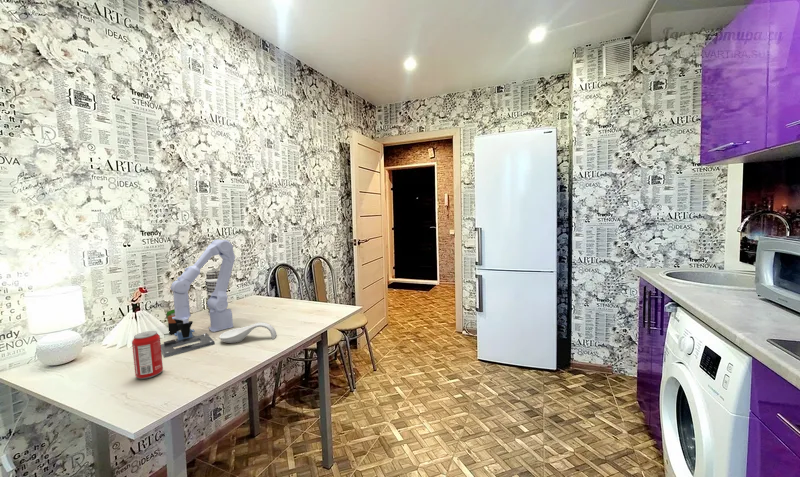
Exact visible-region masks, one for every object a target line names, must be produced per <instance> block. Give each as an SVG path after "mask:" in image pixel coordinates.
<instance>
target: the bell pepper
mask: <svg viewBox="0 0 800 477" xmlns="http://www.w3.org/2000/svg"><path fill="white" fill-rule="evenodd" d="M172 313H175V309H174V308H173V309H171V310H169V311H166V319H167V320H168V316H169V315H171V314H172Z"/></svg>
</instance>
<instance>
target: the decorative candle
mask: <svg viewBox="0 0 800 477" xmlns="http://www.w3.org/2000/svg"><path fill="white" fill-rule="evenodd" d="M219 271H220V269H210V270H208V271H207V272H206V273H205V275H206V279H205V281H204V282H205V284H204V285H205V286H206V287H205V291H206V295H207V300H208V299H209V298H210V297H211V294H212V293H213V292H214V290H215V287H216V283H217V279H218V275H219ZM207 310H208V315H209V316H210V308H209V307H208V308H207Z"/></svg>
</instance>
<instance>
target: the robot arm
mask: <svg viewBox="0 0 800 477" xmlns="http://www.w3.org/2000/svg"><path fill="white" fill-rule="evenodd" d="M233 248H234V245H233V244H232V243H231V242H230V241H229V240H227V239H219V238H218V239H214V240H212V242H211V243H210V244H208V246H207V247H206V248H205V250H204V251H203V253H201V255H200V256H199V257H198V259H197V260H196V262H194V264H193V265H188V267H185V268H184V269H183V270H184V271H183V272H182V273H181V274H180V276H178V277H177V278H176V279H177V280H174V281H173V282H172V283H171V286H170V288H169V289H170V290H171V291H172V293H173V307H174V308H173V309H175V317H172V319H174V320H175V322H176V323H177V326H178V329H179V330H181V332H182V336H183V338H186V337H189V333H190V329H192V328H191V327H192V325H193V321H192V320H190V317H191V311H190V310H191V309H190V297H189V290H190V289H191V285H192V284H193V282H194V281H195V280H196V279H197V278H198V277H199V275H200V274H201V269H202V268H203V266H205V265H206V263H208V261H209V260H210V259H211V258H212V257H214V256H219V257H220V258H221V259H222V260H221V264H220V268H219V270H220V271H219V275H218V279H217V283H216V287H215V290H214V292H213V293H212V294H211V297H210V298H209V299H208V298H207V303H206V305H207V307H208V308H210V315H209V317H210V318H209V320H210V326H208V329H209V330H210V332H212V333H214V332H218V331H224V330H227V329H233V328H234V320H233V312H232V309H231V308H228V306H229V305H228V304H229V303H228V298H229V297H228V294H227V290H228V288H229V287H228V286H229V282H230V279H231V275H232V271H233V267H234V264H235V260H236V255H235V252H234V249H233ZM189 320H190V321H189Z"/></svg>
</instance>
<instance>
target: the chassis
mask: <svg viewBox="0 0 800 477" xmlns="http://www.w3.org/2000/svg"><path fill="white" fill-rule="evenodd" d="M187 344H188V345H187ZM183 345H184V346H183ZM213 345H215V341H214V339H212V338H211V336H210V335H209V334H208V333H203V334H198V335H195V336H193V337H190V338H186V339H182V340H178V339H177V340H176V339H171V340H167V341H163V343H161V353H162V356H163V358H168V357H172V356H176V355H180V354H184V353H187V352H190V351H194V350H199V349H202V348H206V347H210V346H213ZM179 346H180V347H179ZM175 347H177V348H175Z"/></svg>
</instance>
